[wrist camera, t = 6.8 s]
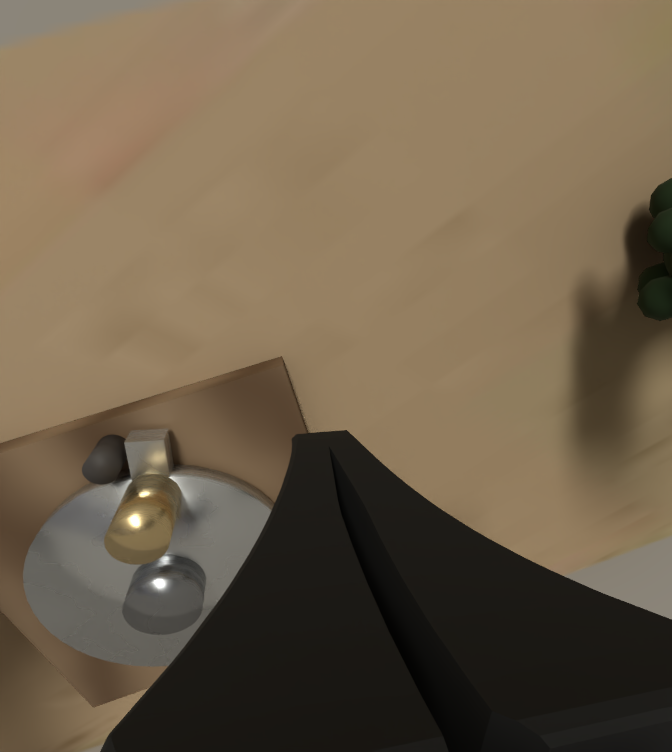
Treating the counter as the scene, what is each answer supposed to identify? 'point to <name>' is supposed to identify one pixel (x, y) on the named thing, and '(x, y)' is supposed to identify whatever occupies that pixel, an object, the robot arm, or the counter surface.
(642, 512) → the counter surface
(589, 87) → the counter surface
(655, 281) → the toy figurine
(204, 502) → the flange plate
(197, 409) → the walnut board
